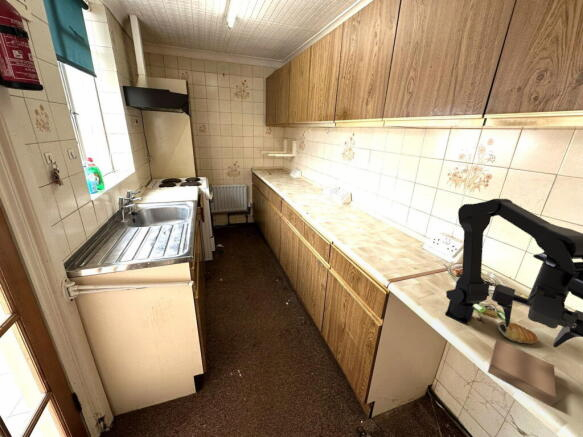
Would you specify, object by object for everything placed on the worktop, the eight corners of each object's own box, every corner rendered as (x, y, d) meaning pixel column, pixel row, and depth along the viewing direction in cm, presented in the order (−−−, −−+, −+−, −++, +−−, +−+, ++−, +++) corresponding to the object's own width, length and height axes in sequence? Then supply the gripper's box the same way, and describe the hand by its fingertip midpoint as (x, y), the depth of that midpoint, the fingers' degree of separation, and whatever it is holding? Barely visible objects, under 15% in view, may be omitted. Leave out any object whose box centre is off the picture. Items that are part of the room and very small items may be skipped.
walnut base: (487, 372, 65) (491, 363, 64) (493, 346, 73) (496, 339, 72) (550, 406, 57) (555, 397, 56) (549, 373, 66) (554, 365, 65)
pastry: (527, 332, 79) (532, 323, 78) (542, 348, 73) (547, 338, 72) (494, 325, 81) (498, 316, 80) (505, 340, 75) (509, 330, 74)
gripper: (498, 280, 58) (479, 332, 63) (624, 321, 46) (588, 381, 51) (503, 264, 66) (486, 311, 71) (612, 296, 54) (582, 350, 59)
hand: (529, 335), depth 63 cm, fingers open, 9 cm apart
